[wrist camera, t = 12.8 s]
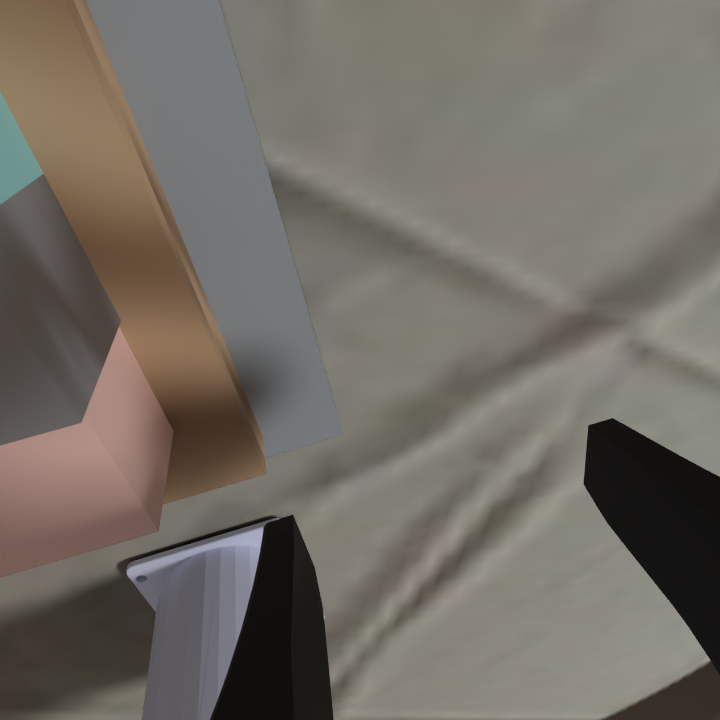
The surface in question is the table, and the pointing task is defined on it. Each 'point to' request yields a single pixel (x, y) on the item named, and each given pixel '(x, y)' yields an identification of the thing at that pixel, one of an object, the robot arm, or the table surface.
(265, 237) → the grey flat block
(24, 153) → the block
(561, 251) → the table surface
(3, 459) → the crate rose
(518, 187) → the table surface
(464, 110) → the table surface
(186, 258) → the pallet
